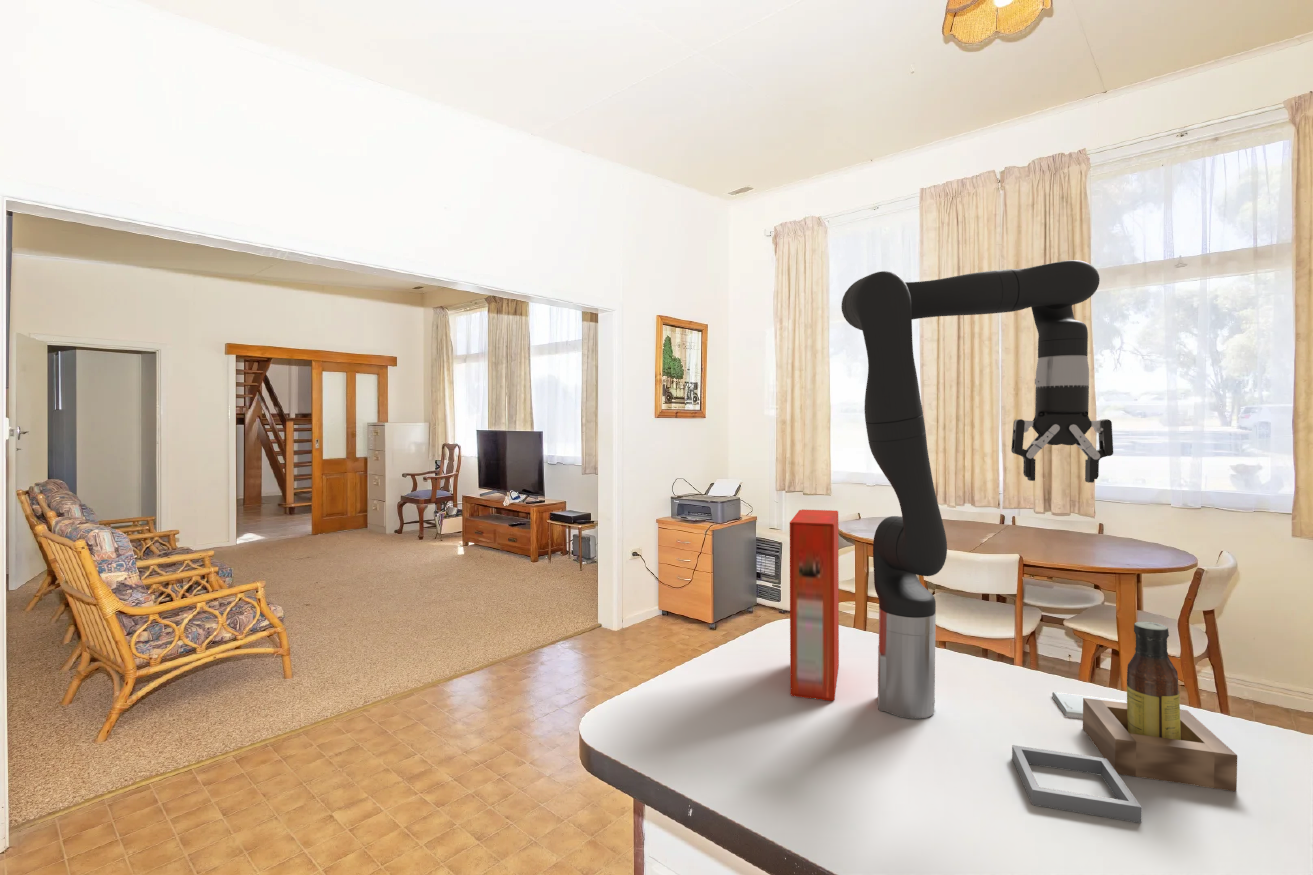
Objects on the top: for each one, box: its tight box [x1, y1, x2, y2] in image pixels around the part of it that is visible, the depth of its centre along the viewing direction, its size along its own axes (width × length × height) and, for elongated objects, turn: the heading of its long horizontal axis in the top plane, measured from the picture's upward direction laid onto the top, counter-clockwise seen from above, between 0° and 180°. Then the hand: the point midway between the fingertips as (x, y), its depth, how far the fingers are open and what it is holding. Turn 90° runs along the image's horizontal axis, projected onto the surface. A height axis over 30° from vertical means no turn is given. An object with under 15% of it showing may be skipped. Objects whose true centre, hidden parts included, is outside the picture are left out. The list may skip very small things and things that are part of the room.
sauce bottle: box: [1126, 621, 1181, 740], centre depth 94 cm, size 6×6×20 cm
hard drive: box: [1052, 691, 1127, 720], centre depth 109 cm, size 2×8×12 cm
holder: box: [1082, 698, 1238, 793], centre depth 94 cm, size 14×14×5 cm
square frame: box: [1011, 744, 1143, 824], centre depth 86 cm, size 12×12×2 cm
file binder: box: [789, 509, 840, 702], centre depth 122 cm, size 8×17×32 cm, turn 161°
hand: (1060, 481), depth 106 cm, fingers open, 8 cm apart
